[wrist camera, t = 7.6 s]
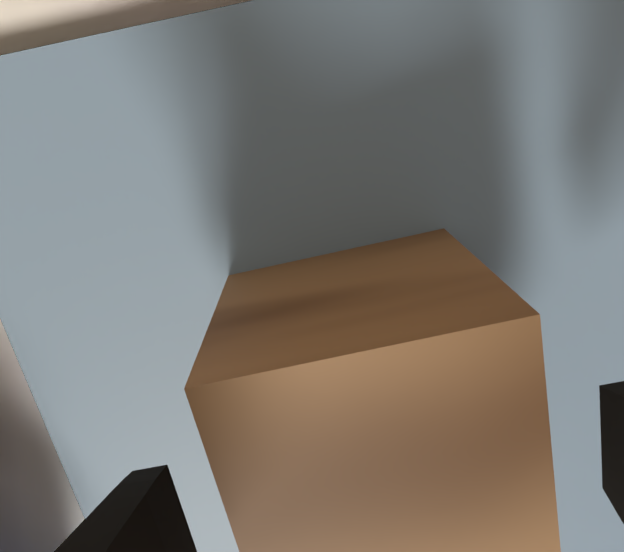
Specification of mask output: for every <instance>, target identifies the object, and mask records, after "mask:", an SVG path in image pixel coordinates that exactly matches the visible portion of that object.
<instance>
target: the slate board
mask: <svg viewBox="0 0 624 552" xmlns="http://www.w3.org/2000/svg"><path fill="white" fill-rule="evenodd" d="M443 228H444V229H445V230H446V231H447V232H449V233H450V234H451V235H452V236H453V237H454V238H455V239H456V240H458V241H459V242H460V243H461V244H462V245H463V246H464V247H465V248H466V249H468V250H469V251H470V252H471V253H472V254H473V255H474V256H475V257H477V258H478V259H479V260H480V261H481V262H482V263H483V264H484V265H485V266H487V267H488V268H489V269H490V270H491V271H492V272H493V273H494V274H496V275H497V276H498V277H499V278H500V279H501V280H502V281H503V282H504V283H506V284H507V285H508V286H509V287H510V288H511V289H512V290H513V291H515V292H516V293H517V294H518V295H519V296H520V297H521V298H522V299H523V300H525V301H526V302H527V303H528V304H529V305H530V306H531V307H532V308H534V309H535V310H536V311H537V312H538V313H539V314H540V320H541V331H542V342H543V354H544V365H545V377H546V388H547V399H548V411H549V422H550V434H551V445H552V456H553V468H554V479H555V491H556V502H557V513H558V525H559V536H560V548H561V552H624V524H623V522H622V521H621V519H620V517H619V516H618V514H617V512H616V510H615V509H614V507H613V505H612V504H611V502H610V500H609V498H608V497H607V495H606V493H605V492H604V490H603V488H602V458H601V426H600V393H599V385H605V384H610V383H615V382H621V381H624V0H252V1H247V2H243V3H238V4H234V5H229V6H224V7H220V8H215V9H211V10H206V11H202V12H197V13H192V14H188V15H183V16H179V17H174V18H170V19H165V20H160V21H156V22H151V23H147V24H142V25H138V26H133V27H128V28H124V29H119V30H115V31H110V32H106V33H101V34H96V35H92V36H87V37H83V38H78V39H74V40H69V41H64V42H60V43H55V44H51V45H46V46H42V47H37V48H32V49H28V50H23V51H19V52H14V53H10V54H5V55H0V319H1V322H2V324H3V326H4V329H5V331H6V333H7V336H8V338H9V341H10V343H11V345H12V348H13V350H14V352H15V355H16V357H17V359H18V362H19V364H20V367H21V369H22V371H23V374H24V376H25V378H26V381H27V383H28V385H29V388H30V390H31V393H32V395H33V397H34V400H35V402H36V404H37V407H38V409H39V412H40V414H41V416H42V419H43V421H44V423H45V426H46V428H47V430H48V433H49V435H50V438H51V440H52V442H53V445H54V447H55V449H56V452H57V454H58V456H59V459H60V461H61V464H62V466H63V468H64V471H65V473H66V475H67V478H68V480H69V483H70V485H71V487H72V490H73V492H74V494H75V497H76V499H77V501H78V504H79V506H80V509H81V511H82V513H83V516H84V518H85V519H86V518H87V517H88V516H89V514H90V513H91V512H92V511H93V510H94V509H95V508H96V507H97V506H98V505H99V504H100V503H101V502H102V501H103V500H104V499H105V498H106V496H107V495H108V494H109V493H110V492H111V491H112V490H113V489H114V488H115V487H116V486H117V485H118V484H119V483H120V482H121V481H122V480H123V479H124V478H125V477H126V476H127V475H128V474H130V473H131V472H132V471H135V470H140V469H145V468H151V467H156V466H162V465H168V468H169V471H170V474H171V477H172V480H173V483H174V486H175V489H176V491H177V494H178V497H179V500H180V503H181V506H182V509H183V512H184V515H185V518H186V521H187V523H188V526H189V529H190V532H191V535H192V538H193V541H194V544H195V547H196V550H197V552H239V549H238V546H237V544H236V541H235V538H234V535H233V532H232V529H231V526H230V523H229V520H228V517H227V514H226V511H225V508H224V505H223V502H222V499H221V496H220V493H219V490H218V487H217V485H216V482H215V479H214V476H213V473H212V470H211V467H210V464H209V461H208V458H207V455H206V452H205V449H204V446H203V443H202V440H201V437H200V434H199V431H198V429H197V426H196V423H195V420H194V417H193V414H192V411H191V408H190V405H189V402H188V399H187V396H186V393H185V390H184V387H185V385H186V382H187V380H188V377H189V375H190V372H191V370H192V367H193V364H194V362H195V359H196V357H197V354H198V352H199V349H200V347H201V344H202V341H203V339H204V336H205V334H206V331H207V329H208V326H209V324H210V321H211V318H212V316H213V313H214V311H215V308H216V306H217V303H218V301H219V298H220V295H221V293H222V290H223V288H224V285H225V283H226V280H227V278H228V275H232V274H237V273H242V272H246V271H251V270H255V269H260V268H265V267H269V266H274V265H278V264H283V263H287V262H292V261H297V260H301V259H306V258H310V257H315V256H320V255H324V254H329V253H333V252H338V251H343V250H347V249H352V248H356V247H361V246H365V245H370V244H375V243H379V242H384V241H388V240H393V239H398V238H402V237H407V236H411V235H416V234H420V233H425V232H430V231H434V230H439V229H443Z"/></svg>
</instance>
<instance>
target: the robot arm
mask: <svg viewBox="0 0 624 552" xmlns="http://www.w3.org/2000/svg"><path fill="white" fill-rule="evenodd" d="M599 393H600V426H601V458H602V488H603V490H604V492H605V493H606V495H607V497H608V498H609V500H610V502H611V504H612V505H613V507H614V509H615V510H616V512H617V514H618V516H619V517H620V519H621V521H622V522H623V524H624V381H621V382H615V383H610V384H605V385H599ZM54 552H197V550H196V547H195V544H194V541H193V538H192V535H191V532H190V529H189V526H188V523H187V521H186V518H185V515H184V512H183V509H182V506H181V503H180V500H179V497H178V494H177V491H176V489H175V486H174V483H173V480H172V477H171V474H170V471H169V468H168V465H162V466H156V467H151V468H145V469H140V470H135V471H132V472H131V473H130V474H128V475H127V476H126V477H125V478H124V479H123V480H122V481H121V482H120V483H119V484H118V485H117V486H116V487H115V488H114V489H113V490H112V491H111V492H110V493H109V494H108V495H107V496H106V498H105V499H104V500H103V501H102V502H101V503H100V504H99V505H98V506H97V507H96V508H95V509H94V510H93V511H92V512H91V513H90V514H89V516H88V517H87V518H86V519H85V520H84V521H83V522H82V523H81V524H80V525H79V526H78V527H77V528H76V529H75V530H74V531H73V533H72V534H71V535H70V536H69V537H68V538H67V539H66V540H65V541H64V542H63V543H62V544H61V545H60V546H59V547H58V548H57V549H56V550H55V551H54Z"/></svg>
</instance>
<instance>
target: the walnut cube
mask: <svg viewBox="0 0 624 552" xmlns="http://www.w3.org/2000/svg"><path fill="white" fill-rule="evenodd" d="M184 390H185V393H186V396H187V399H188V402H189V405H190V408H191V411H192V414H193V417H194V420H195V423H196V426H197V429H198V431H199V434H200V437H201V440H202V443H203V446H204V449H205V452H206V455H207V458H208V461H209V464H210V467H211V470H212V473H213V476H214V479H215V482H216V485H217V487H218V490H219V493H220V496H221V499H222V502H223V505H224V508H225V511H226V514H227V517H228V520H229V523H230V526H231V529H232V532H233V535H234V538H235V541H236V544H237V546H238V549H239V552H561V548H560V536H559V525H558V513H557V502H556V491H555V479H554V468H553V456H552V445H551V434H550V422H549V411H548V399H547V388H546V377H545V365H544V354H543V342H542V331H541V320H540V314H539V313H538V312H537V311H536V310H535V309H534V308H532V307H531V306H530V305H529V304H528V303H527V302H526V301H525V300H523V299H522V298H521V297H520V296H519V295H518V294H517V293H516V292H515V291H513V290H512V289H511V288H510V287H509V286H508V285H507V284H506V283H504V282H503V281H502V280H501V279H500V278H499V277H498V276H497V275H496V274H494V273H493V272H492V271H491V270H490V269H489V268H488V267H487V266H485V265H484V264H483V263H482V262H481V261H480V260H479V259H478V258H477V257H475V256H474V255H473V254H472V253H471V252H470V251H469V250H468V249H466V248H465V247H464V246H463V245H462V244H461V243H460V242H459V241H458V240H456V239H455V238H454V237H453V236H452V235H451V234H450V233H449V232H447V231H446V230H445V229H444V228H443V229H439V230H434V231H430V232H425V233H420V234H416V235H411V236H407V237H402V238H398V239H393V240H388V241H384V242H379V243H375V244H370V245H365V246H361V247H356V248H352V249H347V250H343V251H338V252H333V253H329V254H324V255H320V256H315V257H310V258H306V259H301V260H297V261H292V262H287V263H283V264H278V265H274V266H269V267H265V268H260V269H255V270H251V271H246V272H242V273H237V274H232V275H228V278H227V280H226V283H225V285H224V288H223V290H222V293H221V295H220V298H219V301H218V303H217V306H216V308H215V311H214V313H213V316H212V318H211V321H210V324H209V326H208V329H207V331H206V334H205V336H204V339H203V341H202V344H201V347H200V349H199V352H198V354H197V357H196V359H195V362H194V364H193V367H192V370H191V372H190V375H189V377H188V380H187V382H186V385H185V387H184Z"/></svg>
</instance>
